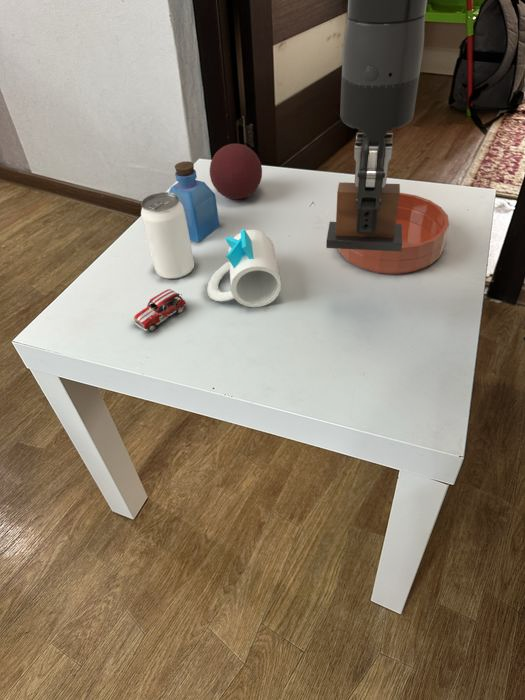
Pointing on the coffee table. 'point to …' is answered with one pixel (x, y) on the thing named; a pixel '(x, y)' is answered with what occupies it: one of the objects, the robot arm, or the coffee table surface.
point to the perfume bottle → (195, 202)
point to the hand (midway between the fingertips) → (366, 225)
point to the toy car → (159, 309)
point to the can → (167, 235)
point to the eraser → (346, 221)
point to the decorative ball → (235, 171)
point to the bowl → (408, 239)
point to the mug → (248, 270)
